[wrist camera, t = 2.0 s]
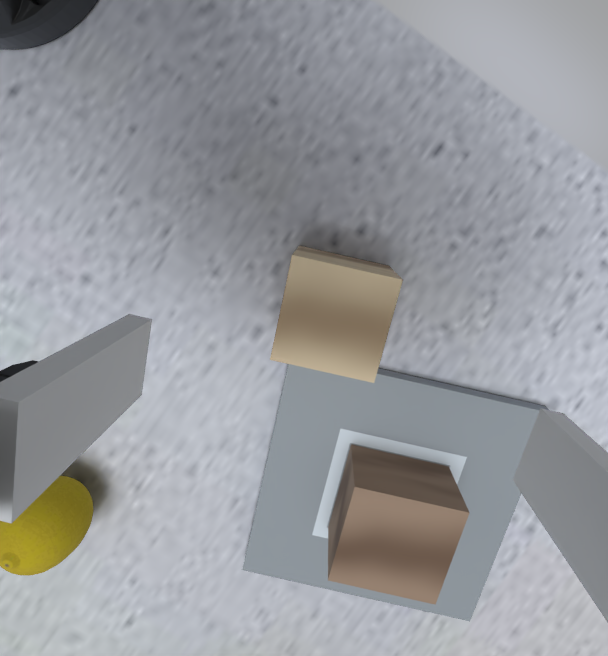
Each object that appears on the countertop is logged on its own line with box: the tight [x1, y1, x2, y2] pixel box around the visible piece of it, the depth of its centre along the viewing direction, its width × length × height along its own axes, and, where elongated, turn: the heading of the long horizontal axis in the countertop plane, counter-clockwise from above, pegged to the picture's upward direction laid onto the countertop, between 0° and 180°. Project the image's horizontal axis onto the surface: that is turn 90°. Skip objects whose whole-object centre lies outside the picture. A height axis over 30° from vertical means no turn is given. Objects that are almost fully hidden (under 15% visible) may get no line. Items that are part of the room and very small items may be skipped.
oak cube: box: [270, 246, 403, 383], centre depth 28 cm, size 6×6×6 cm
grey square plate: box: [243, 364, 549, 621], centre depth 33 cm, size 18×18×1 cm
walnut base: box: [328, 444, 470, 605], centre depth 30 cm, size 7×7×5 cm
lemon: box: [0, 476, 93, 575], centre depth 32 cm, size 6×6×8 cm
